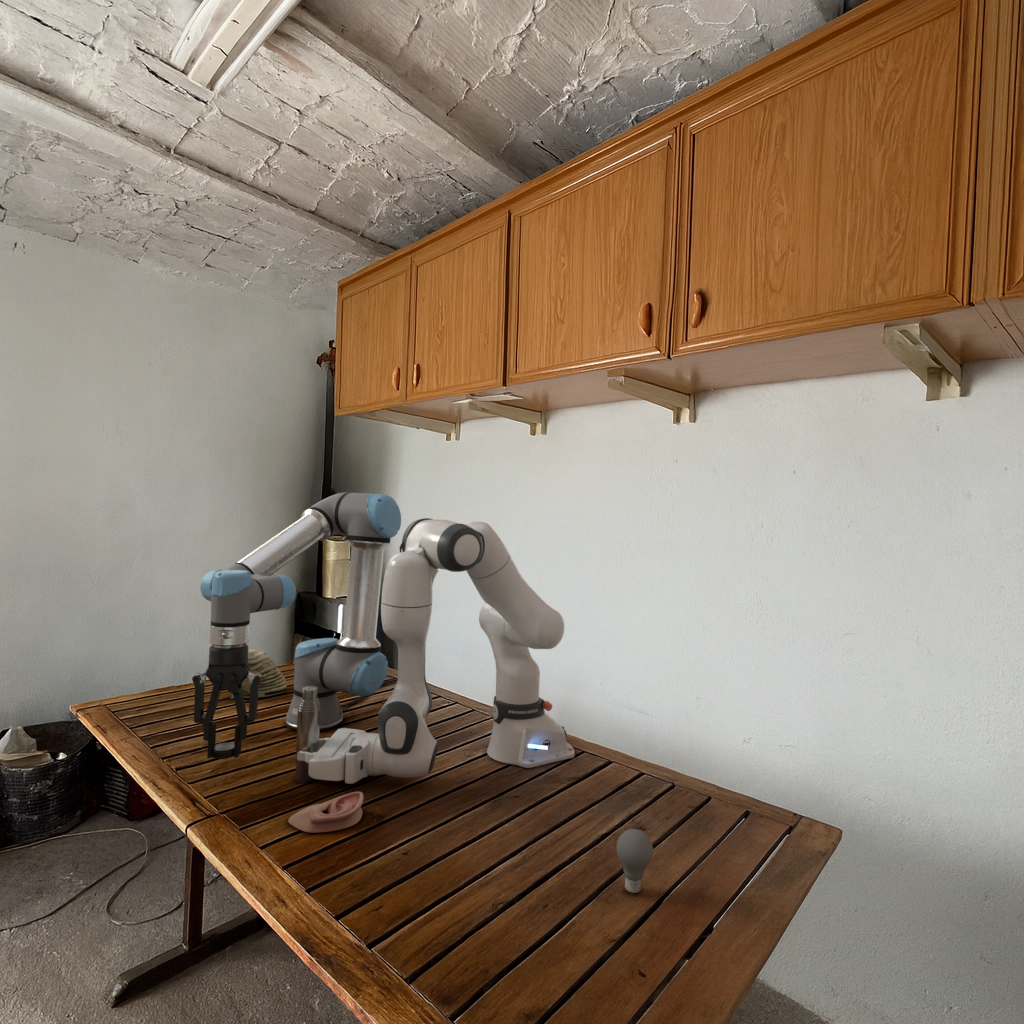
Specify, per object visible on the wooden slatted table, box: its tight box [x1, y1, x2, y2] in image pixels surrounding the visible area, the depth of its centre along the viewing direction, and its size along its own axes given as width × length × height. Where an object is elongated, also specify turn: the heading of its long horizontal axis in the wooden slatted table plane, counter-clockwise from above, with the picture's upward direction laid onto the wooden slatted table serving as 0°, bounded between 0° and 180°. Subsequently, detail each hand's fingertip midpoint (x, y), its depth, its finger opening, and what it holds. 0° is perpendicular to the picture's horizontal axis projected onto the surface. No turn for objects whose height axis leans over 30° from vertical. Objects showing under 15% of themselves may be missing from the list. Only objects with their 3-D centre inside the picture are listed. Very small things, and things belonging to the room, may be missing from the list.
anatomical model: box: [287, 791, 364, 834], centre depth 124 cm, size 13×4×12 cm
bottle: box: [294, 686, 321, 784], centre depth 142 cm, size 5×5×20 cm
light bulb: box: [615, 828, 654, 894], centre depth 106 cm, size 6×6×10 cm
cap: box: [212, 741, 235, 760], centre depth 133 cm, size 5×5×2 cm
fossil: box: [226, 647, 288, 699], centre depth 198 cm, size 9×18×15 cm, turn 132°
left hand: (224, 754), depth 133 cm, fingers closed on cap, 4 cm apart
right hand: (303, 749), depth 142 cm, fingers closed on bottle, 5 cm apart
